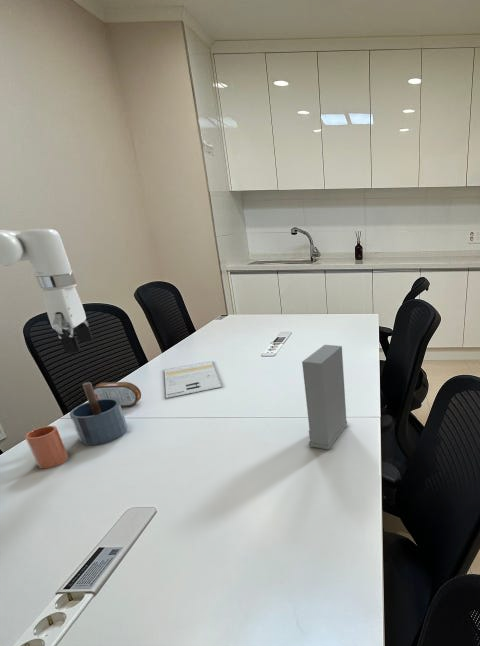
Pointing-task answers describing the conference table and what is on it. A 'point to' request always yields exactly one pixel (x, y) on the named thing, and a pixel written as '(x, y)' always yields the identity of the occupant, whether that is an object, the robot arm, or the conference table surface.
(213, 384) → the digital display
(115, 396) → the tin
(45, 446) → the cup
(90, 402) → the stick
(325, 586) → the conference table surface
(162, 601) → the conference table surface
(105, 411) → the pot
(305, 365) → the cassette tape recorder
